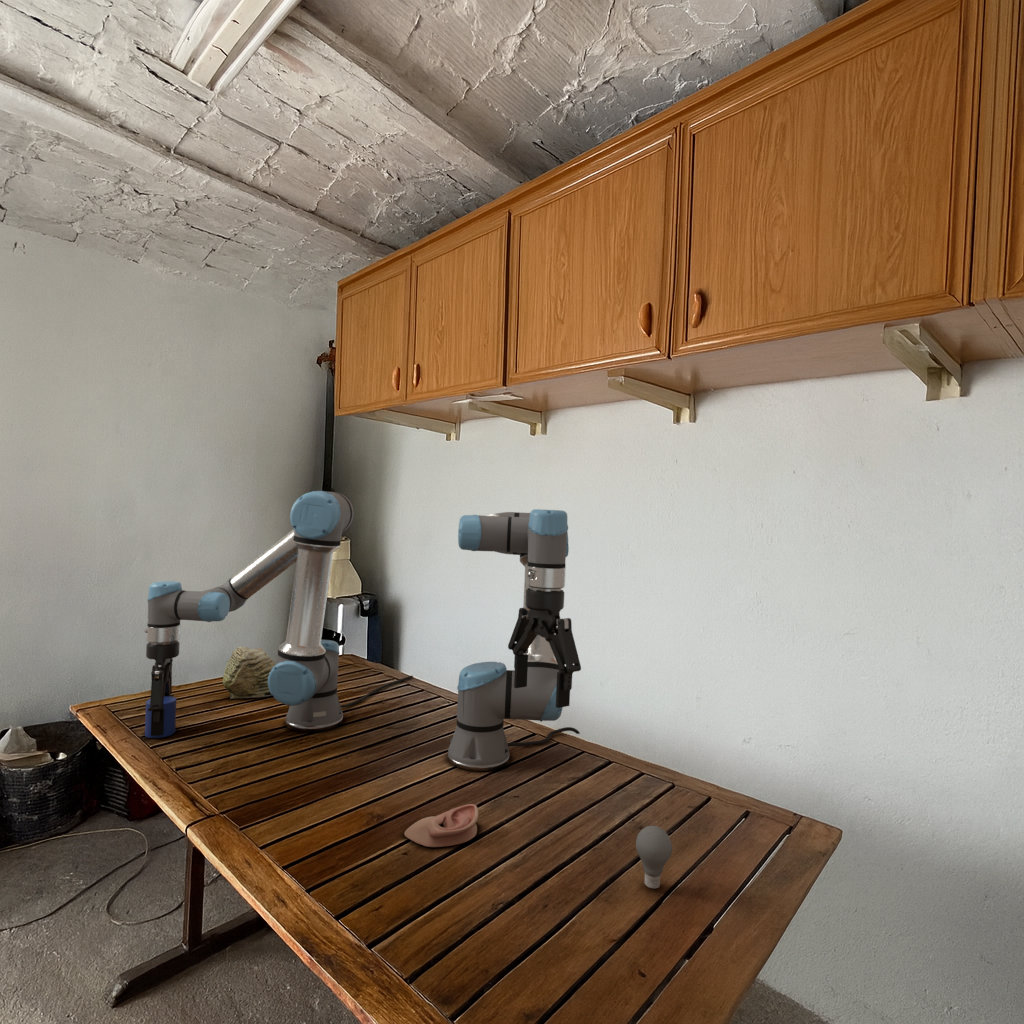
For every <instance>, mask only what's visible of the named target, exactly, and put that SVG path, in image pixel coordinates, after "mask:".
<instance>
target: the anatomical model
mask: <svg viewBox="0 0 1024 1024" xmlns="http://www.w3.org/2000/svg"><path fill="white" fill-rule="evenodd" d="M478 820H479V809H478V806H477V805H476V804H475V803H468V804H463V805H460V806H456V807H454V808H451V809H449V810H447V811H444V812H442V813H440V814H438V815H435V816H432V815H431V816H426V817H423V818H421V819H419V820H417V821H416V822H414V823H413V824H411V825H410V826H408V828H407V829H406V830H405V831H404V836H405V837H406V838H407V839H408V840H410V841H412V842H414V843H415V844H418V845H421V846H423V847H427V848H442V847H451V846H456V845H461V844H464V843H466V842H469V841H471V840H472V839H473V838H474V837H476V835H477V833H478V825H477V822H478Z"/></svg>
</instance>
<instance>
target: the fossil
mask: <svg viewBox="0 0 1024 1024" xmlns="http://www.w3.org/2000/svg"><path fill="white" fill-rule="evenodd" d="M275 665H276V663H275V662H274V660H273V659H272V658H271V657H270V656H269V655H268V654H267V653H266V652H265V650H264V649H263V648H260V647H258V648H251V647H247V646H246V647H245V646H238V647H237V648H236V649H235V650H233V651H232V653H231V656H230V657H229V659H228V660H227V663H226V666H225V668H224V671H223V675H222V676H223V677H222V685H223V687H224V688H225V690H226V691H228V693H229V698H230V699H250V698H264V697H271V696H272V697H273V695H272V694H271V693H270V691H269V688H268V676H269V674H270V672H271V670H272V668H273V667H274V666H275Z"/></svg>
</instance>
